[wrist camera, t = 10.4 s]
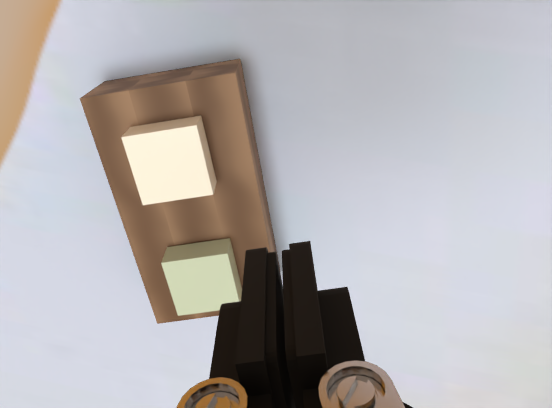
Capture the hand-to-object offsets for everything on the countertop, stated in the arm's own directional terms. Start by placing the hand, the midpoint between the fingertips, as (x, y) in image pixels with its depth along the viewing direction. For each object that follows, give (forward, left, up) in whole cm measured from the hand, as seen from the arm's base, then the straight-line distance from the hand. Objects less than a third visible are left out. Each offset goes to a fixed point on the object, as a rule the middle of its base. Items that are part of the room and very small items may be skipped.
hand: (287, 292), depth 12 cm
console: (+9, +10, -32) cm, 35 cm away
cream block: (+9, +5, -30) cm, 32 cm away
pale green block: (+9, +16, -30) cm, 35 cm away
